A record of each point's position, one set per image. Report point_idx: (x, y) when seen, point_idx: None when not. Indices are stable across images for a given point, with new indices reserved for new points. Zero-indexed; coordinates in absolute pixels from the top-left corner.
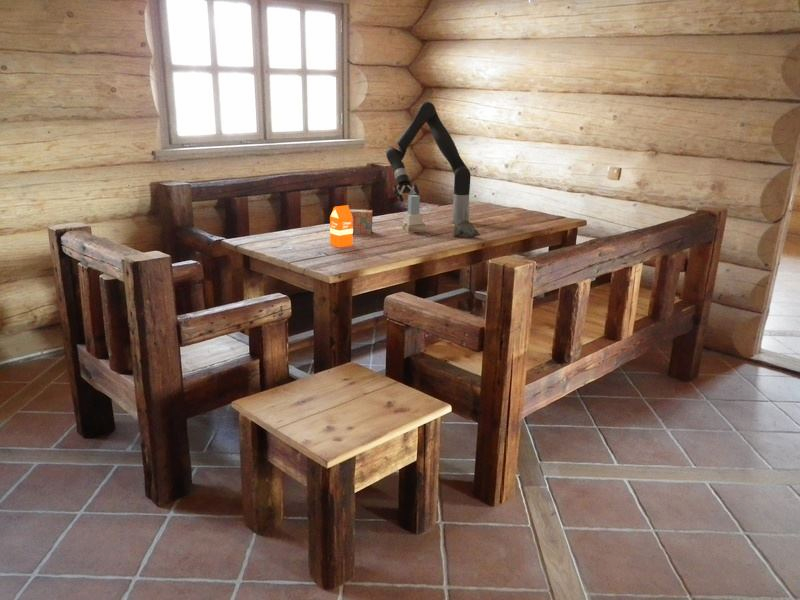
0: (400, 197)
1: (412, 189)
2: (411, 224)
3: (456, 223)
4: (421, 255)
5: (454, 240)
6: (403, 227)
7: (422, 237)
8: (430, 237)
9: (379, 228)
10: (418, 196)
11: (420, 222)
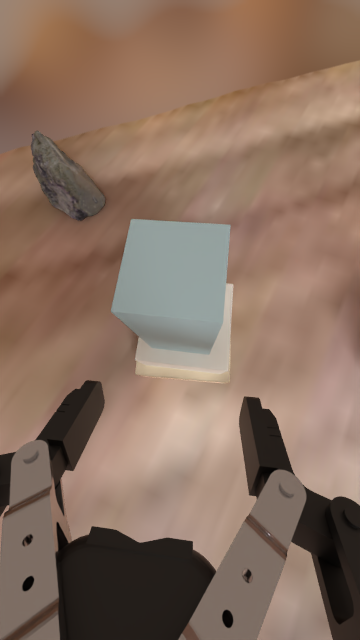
0: (274, 439)
1: (17, 530)
2: None
3: (73, 167)
4: (308, 77)
5: (133, 170)
6: None
7: None
8: None
9: (319, 454)
10: (147, 220)
11: None
